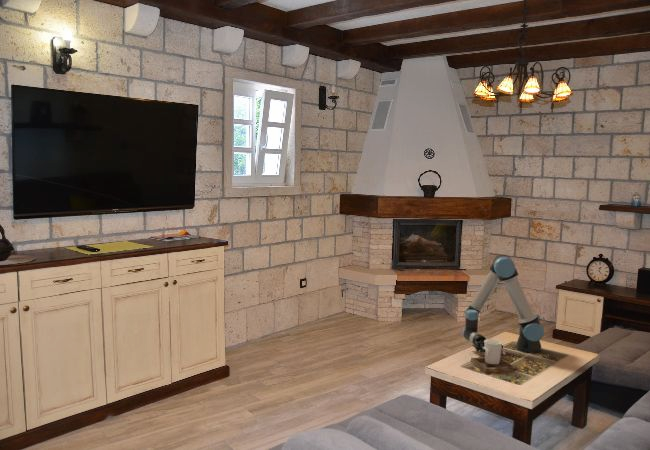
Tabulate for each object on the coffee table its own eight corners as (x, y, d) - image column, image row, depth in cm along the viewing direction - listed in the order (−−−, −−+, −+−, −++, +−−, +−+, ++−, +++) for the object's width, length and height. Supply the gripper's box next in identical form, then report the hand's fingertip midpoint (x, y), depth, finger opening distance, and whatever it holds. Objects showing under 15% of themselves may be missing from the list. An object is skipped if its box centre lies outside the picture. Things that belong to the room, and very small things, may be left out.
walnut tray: (499, 360, 313) (499, 356, 313) (515, 371, 295) (515, 367, 295) (470, 362, 310) (470, 357, 309) (485, 373, 292) (485, 369, 292)
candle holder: (497, 366, 295) (498, 345, 294) (480, 362, 301) (481, 341, 300) (503, 361, 303) (504, 341, 302) (486, 357, 309) (487, 337, 308)
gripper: (494, 345, 321) (514, 358, 299) (461, 346, 318) (478, 360, 296) (495, 333, 321) (514, 345, 299) (461, 334, 317) (479, 347, 295)
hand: (496, 352), depth 297 cm, fingers closed on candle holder, 9 cm apart
